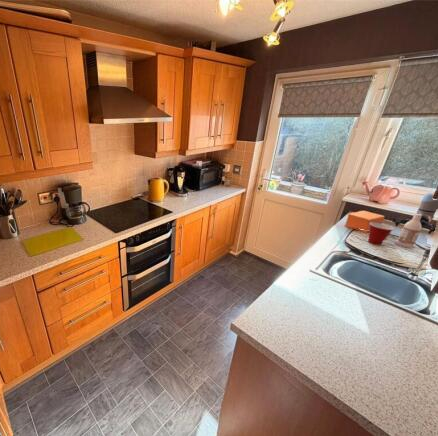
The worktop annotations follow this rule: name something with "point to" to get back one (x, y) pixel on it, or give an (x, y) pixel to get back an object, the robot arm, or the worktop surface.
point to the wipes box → (361, 223)
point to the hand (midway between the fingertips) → (412, 227)
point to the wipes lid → (366, 215)
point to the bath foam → (410, 232)
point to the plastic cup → (378, 233)
